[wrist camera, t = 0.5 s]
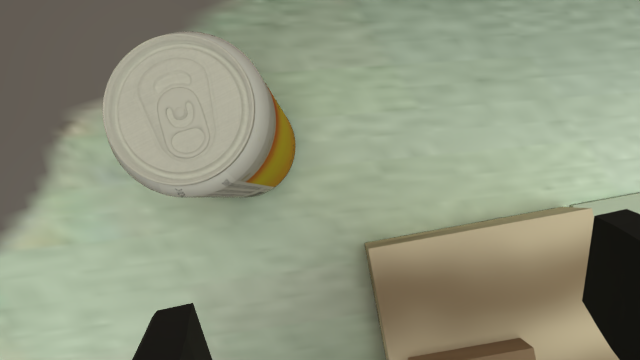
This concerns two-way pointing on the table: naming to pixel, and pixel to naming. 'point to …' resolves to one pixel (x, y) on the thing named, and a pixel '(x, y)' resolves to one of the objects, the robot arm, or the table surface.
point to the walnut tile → (486, 352)
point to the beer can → (196, 119)
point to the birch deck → (489, 287)
